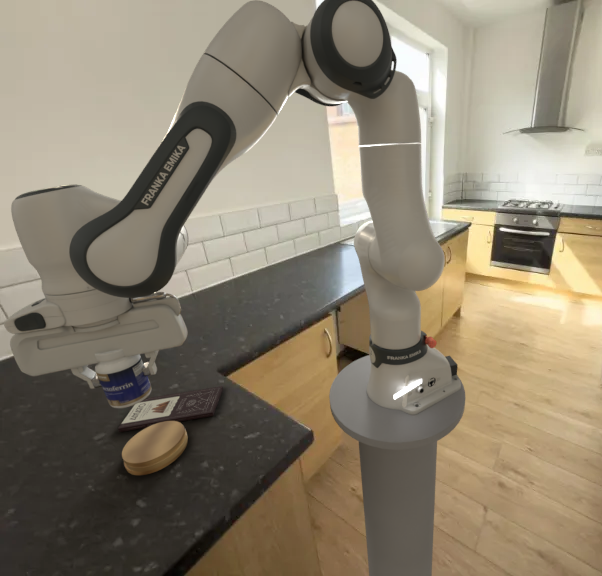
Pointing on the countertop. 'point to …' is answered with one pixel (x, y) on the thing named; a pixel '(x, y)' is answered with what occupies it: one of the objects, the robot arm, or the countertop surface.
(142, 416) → the chocolate bar
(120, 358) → the pill bottle
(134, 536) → the countertop surface
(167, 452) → the coaster pile
